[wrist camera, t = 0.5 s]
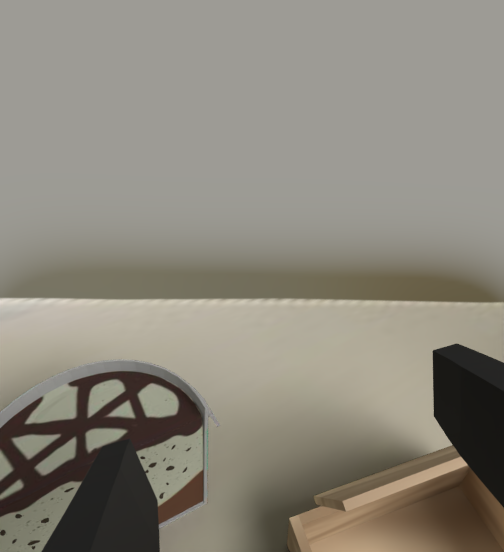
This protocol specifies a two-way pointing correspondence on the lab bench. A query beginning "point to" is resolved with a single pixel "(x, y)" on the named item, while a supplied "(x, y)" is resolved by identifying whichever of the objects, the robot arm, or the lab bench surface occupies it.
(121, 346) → the lab bench surface
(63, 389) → the food container
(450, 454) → the flap
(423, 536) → the carton
